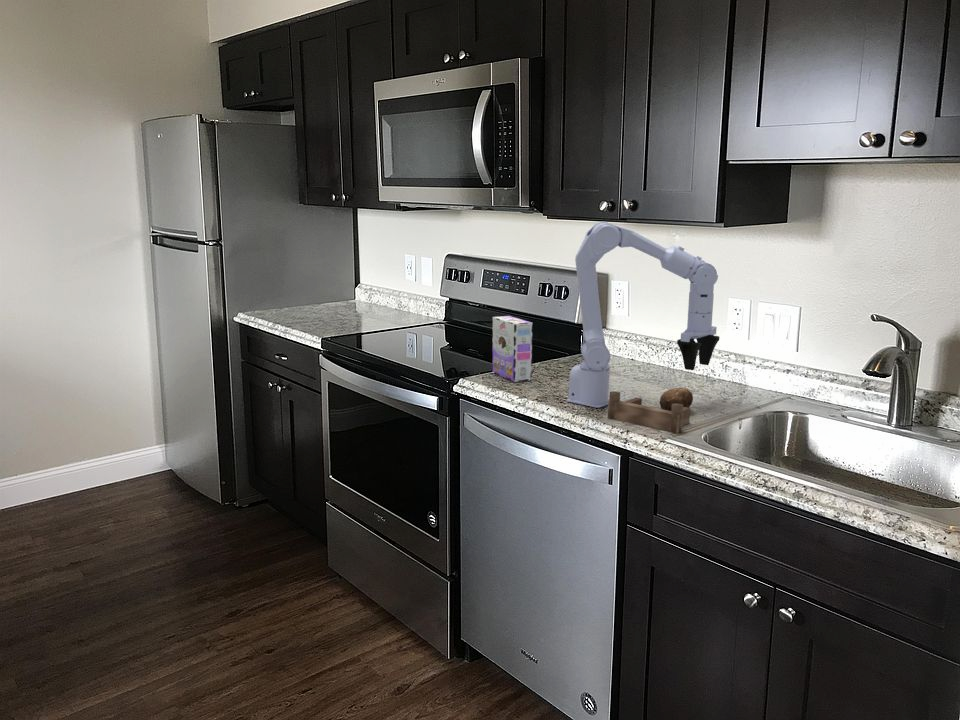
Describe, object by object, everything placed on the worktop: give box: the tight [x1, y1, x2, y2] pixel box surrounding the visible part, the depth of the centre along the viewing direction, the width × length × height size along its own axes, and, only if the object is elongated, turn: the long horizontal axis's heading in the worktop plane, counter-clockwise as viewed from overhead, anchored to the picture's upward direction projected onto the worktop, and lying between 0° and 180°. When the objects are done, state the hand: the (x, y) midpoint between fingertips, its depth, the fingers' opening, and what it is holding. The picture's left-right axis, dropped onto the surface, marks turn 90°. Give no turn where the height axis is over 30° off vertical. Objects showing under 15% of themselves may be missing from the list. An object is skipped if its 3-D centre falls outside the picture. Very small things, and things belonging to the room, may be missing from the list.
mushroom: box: [659, 387, 694, 411], centre depth 199 cm, size 8×8×6 cm
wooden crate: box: [607, 390, 691, 434], centre depth 190 cm, size 18×9×6 cm, turn 48°
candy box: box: [491, 315, 534, 383], centre depth 232 cm, size 14×6×16 cm, turn 25°
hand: (696, 367), depth 204 cm, fingers open, 7 cm apart
